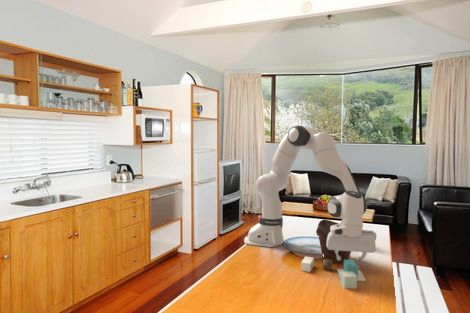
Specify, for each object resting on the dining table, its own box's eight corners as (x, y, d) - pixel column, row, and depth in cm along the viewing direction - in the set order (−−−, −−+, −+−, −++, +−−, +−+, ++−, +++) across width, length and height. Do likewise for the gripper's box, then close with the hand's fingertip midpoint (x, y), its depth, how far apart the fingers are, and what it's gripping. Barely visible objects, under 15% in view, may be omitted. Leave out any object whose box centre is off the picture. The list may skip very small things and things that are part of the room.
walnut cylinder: (323, 270, 159) (323, 262, 159) (322, 267, 163) (322, 258, 163) (332, 271, 159) (333, 262, 158) (331, 267, 163) (331, 259, 162)
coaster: (340, 279, 150) (341, 278, 149) (337, 270, 159) (337, 269, 159) (365, 281, 148) (365, 279, 148) (360, 271, 158) (360, 270, 158)
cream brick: (301, 270, 159) (301, 262, 159) (305, 264, 166) (305, 256, 166) (309, 272, 157) (310, 263, 157) (313, 266, 165) (314, 257, 164)
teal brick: (343, 270, 158) (343, 259, 158) (352, 270, 158) (353, 259, 157) (348, 278, 150) (348, 266, 150) (357, 278, 150) (358, 266, 149)
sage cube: (340, 283, 147) (344, 288, 142) (340, 271, 146) (344, 276, 141) (352, 283, 147) (356, 288, 142) (352, 271, 146) (357, 276, 142)
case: (360, 267, 163) (361, 228, 162) (315, 263, 167) (316, 226, 166) (355, 254, 181) (356, 219, 179) (315, 251, 185) (315, 217, 183)
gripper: (374, 228, 154) (372, 259, 155) (326, 225, 157) (325, 256, 158) (378, 233, 148) (376, 265, 149) (328, 230, 150) (327, 261, 152)
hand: (349, 260), depth 153 cm, fingers open, 8 cm apart
